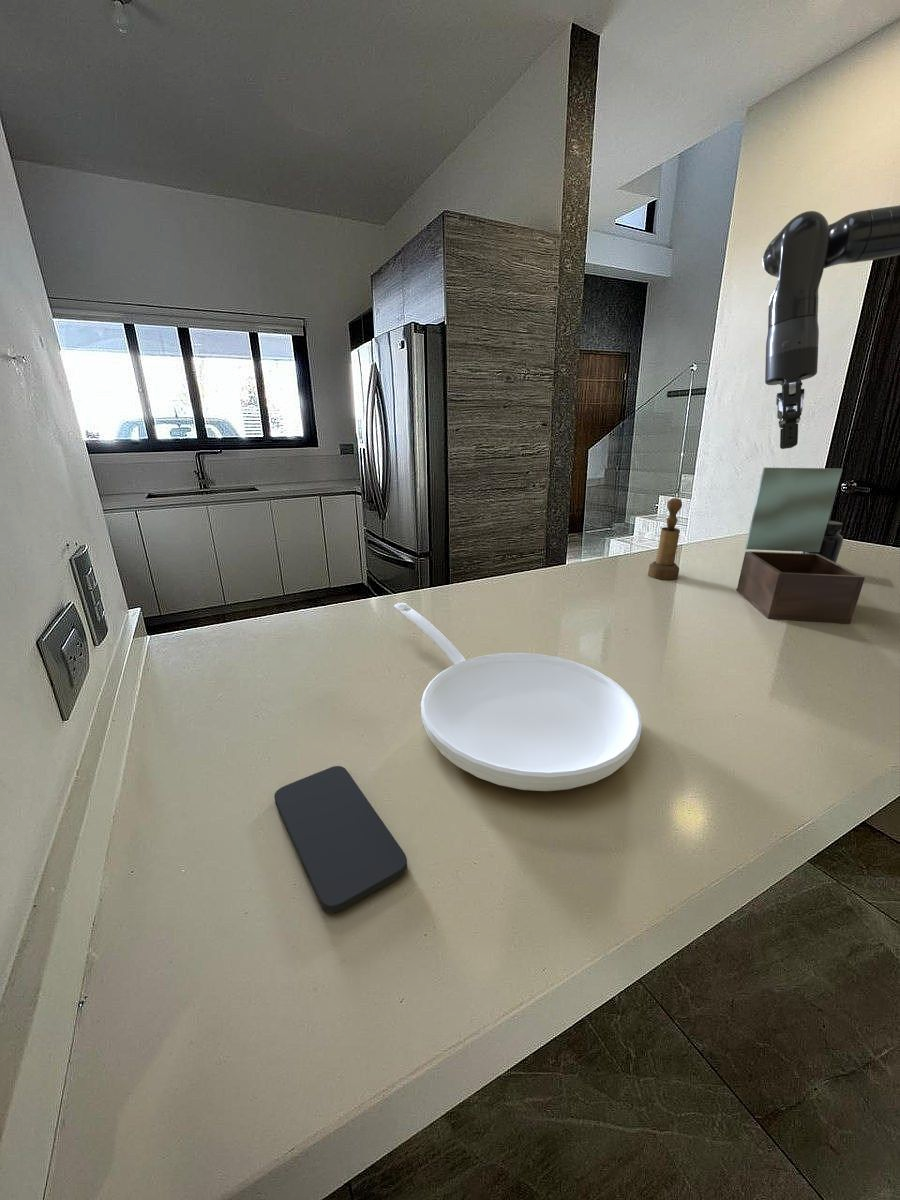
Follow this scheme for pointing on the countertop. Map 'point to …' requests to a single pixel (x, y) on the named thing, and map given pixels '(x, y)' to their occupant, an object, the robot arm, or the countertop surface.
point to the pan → (527, 717)
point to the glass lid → (792, 508)
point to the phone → (339, 838)
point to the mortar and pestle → (667, 546)
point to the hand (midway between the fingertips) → (788, 447)
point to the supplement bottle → (831, 541)
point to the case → (799, 586)
